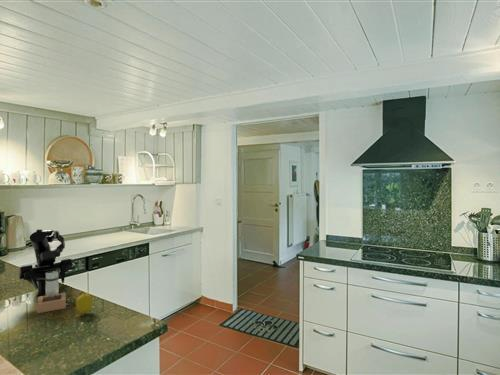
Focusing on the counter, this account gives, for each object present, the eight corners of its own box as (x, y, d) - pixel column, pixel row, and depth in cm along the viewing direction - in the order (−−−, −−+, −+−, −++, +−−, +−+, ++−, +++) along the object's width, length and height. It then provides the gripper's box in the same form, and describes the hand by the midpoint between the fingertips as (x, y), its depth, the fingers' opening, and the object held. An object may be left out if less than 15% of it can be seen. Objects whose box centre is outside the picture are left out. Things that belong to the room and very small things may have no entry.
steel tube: (45, 305, 125) (45, 271, 124) (59, 303, 127) (58, 270, 127) (44, 309, 121) (44, 274, 120) (59, 307, 123) (58, 272, 123)
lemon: (72, 315, 115) (72, 294, 115) (86, 310, 120) (86, 289, 120) (82, 318, 112) (81, 296, 112) (95, 312, 117) (95, 292, 117)
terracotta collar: (38, 305, 125) (38, 296, 125) (65, 300, 130) (65, 292, 130) (37, 313, 117) (37, 304, 117) (65, 308, 122) (65, 299, 122)
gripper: (19, 246, 123) (25, 279, 115) (71, 240, 136) (79, 269, 129) (16, 262, 129) (21, 295, 121) (66, 255, 142) (74, 284, 134)
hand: (50, 285), depth 126 cm, fingers open, 9 cm apart
